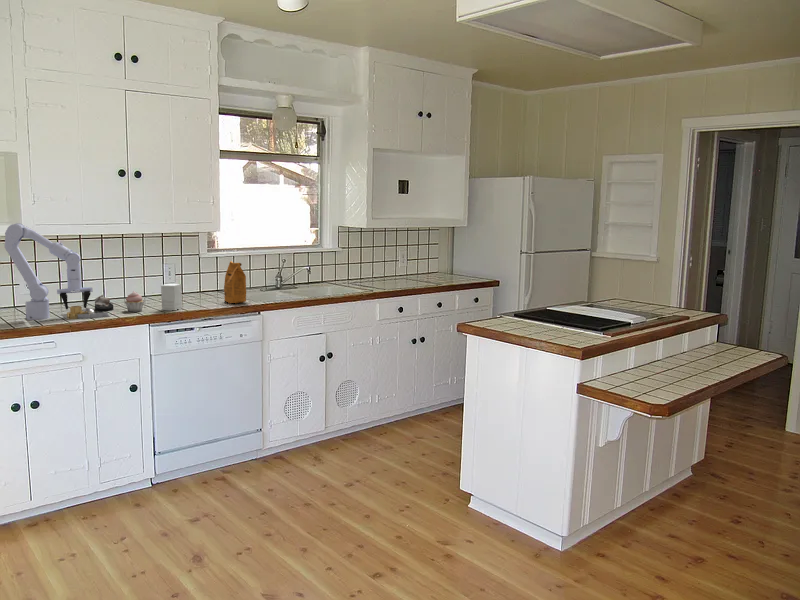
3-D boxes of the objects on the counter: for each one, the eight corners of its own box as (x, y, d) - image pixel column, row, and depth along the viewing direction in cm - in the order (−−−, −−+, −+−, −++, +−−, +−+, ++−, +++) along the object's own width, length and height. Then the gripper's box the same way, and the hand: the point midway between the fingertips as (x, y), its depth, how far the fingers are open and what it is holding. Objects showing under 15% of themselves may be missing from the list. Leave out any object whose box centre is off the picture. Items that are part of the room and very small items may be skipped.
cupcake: (132, 309, 340) (131, 289, 338) (148, 310, 338) (147, 290, 336) (120, 312, 331) (119, 291, 329) (137, 313, 329) (136, 292, 327)
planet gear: (68, 318, 306) (68, 308, 305) (65, 315, 312) (65, 306, 311) (86, 316, 310) (86, 307, 310) (83, 314, 316) (82, 305, 316)
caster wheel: (107, 318, 327) (88, 314, 328) (120, 310, 337) (102, 306, 338) (106, 306, 324) (87, 302, 326) (120, 298, 334) (102, 294, 336)
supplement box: (182, 308, 344) (181, 283, 342) (174, 311, 337) (174, 285, 335) (169, 308, 345) (168, 283, 343) (161, 310, 338) (160, 285, 336)
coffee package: (238, 300, 375) (238, 260, 372) (248, 303, 366) (247, 262, 362) (221, 301, 369) (220, 261, 366) (231, 304, 359) (230, 263, 356)
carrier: (67, 322, 302) (67, 314, 302) (60, 316, 315) (60, 309, 315) (110, 318, 312) (110, 310, 312) (102, 313, 326) (101, 306, 325)
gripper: (58, 280, 301) (60, 311, 303) (93, 278, 310) (94, 308, 312) (55, 279, 307) (57, 308, 309) (90, 277, 315) (91, 306, 317)
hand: (76, 308), depth 311 cm, fingers open, 7 cm apart
